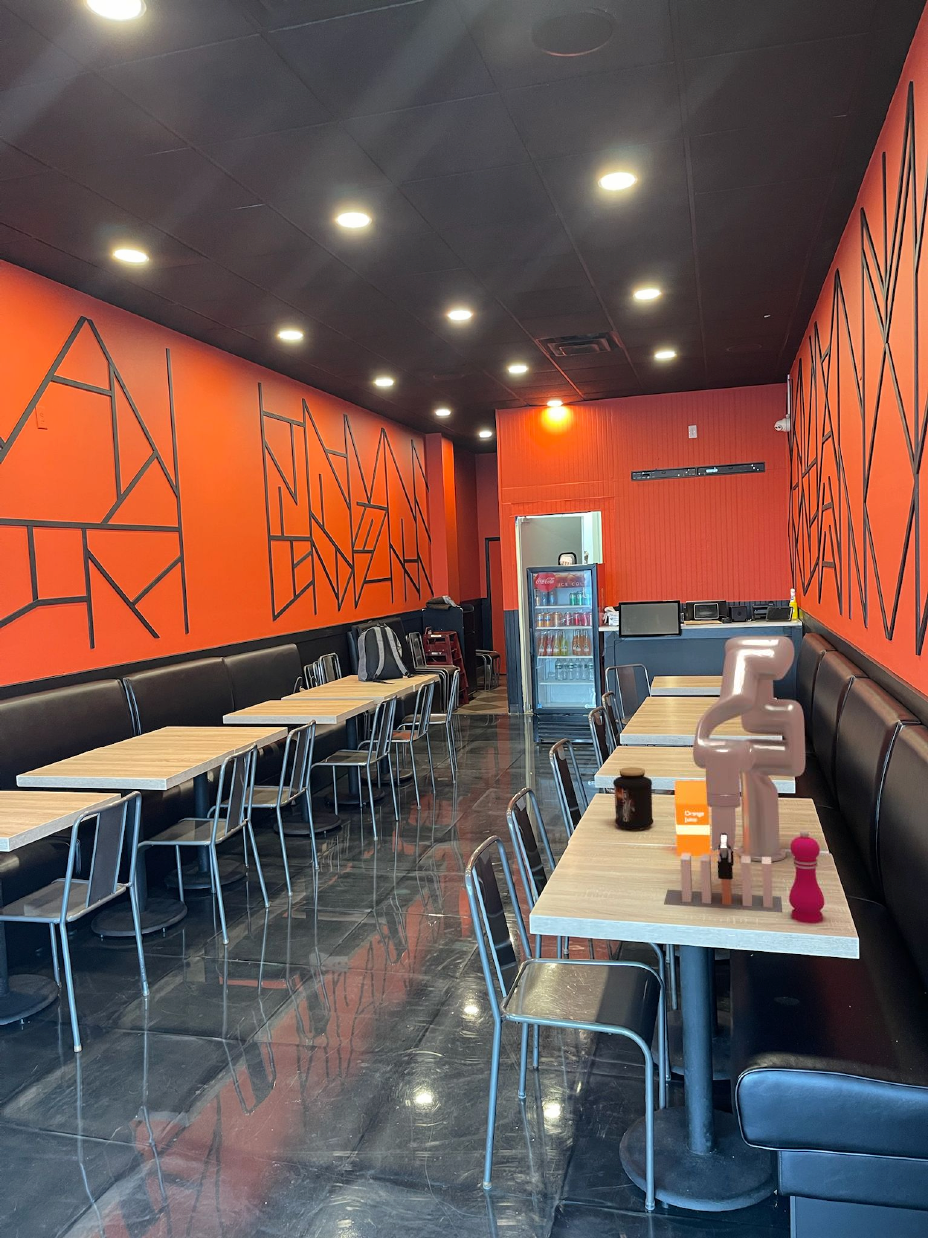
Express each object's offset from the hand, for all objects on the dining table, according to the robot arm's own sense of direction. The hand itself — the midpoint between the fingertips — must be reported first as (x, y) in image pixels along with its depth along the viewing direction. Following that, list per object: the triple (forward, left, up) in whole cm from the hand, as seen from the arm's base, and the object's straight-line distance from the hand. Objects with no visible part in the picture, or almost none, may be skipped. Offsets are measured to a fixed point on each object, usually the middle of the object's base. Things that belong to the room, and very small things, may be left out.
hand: (726, 872), depth 203 cm
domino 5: (0, +9, -7) cm, 11 cm away
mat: (0, -1, -7) cm, 7 cm away
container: (-60, -29, -8) cm, 67 cm away
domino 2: (0, -4, -7) cm, 8 cm away
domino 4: (0, +5, -7) cm, 8 cm away
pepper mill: (+7, +17, -8) cm, 20 cm away
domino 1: (0, -9, -7) cm, 11 cm away
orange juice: (-38, -10, -8) cm, 40 cm away
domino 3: (0, 0, -7) cm, 7 cm away
